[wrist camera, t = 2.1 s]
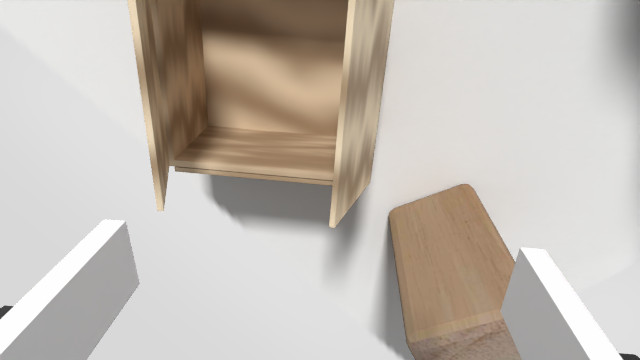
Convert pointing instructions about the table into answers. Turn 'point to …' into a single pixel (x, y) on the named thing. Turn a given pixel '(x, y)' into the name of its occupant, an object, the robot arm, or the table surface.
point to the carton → (251, 86)
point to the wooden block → (452, 278)
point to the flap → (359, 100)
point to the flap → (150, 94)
